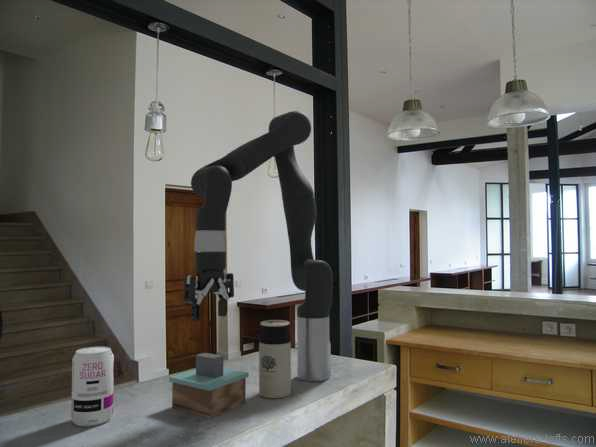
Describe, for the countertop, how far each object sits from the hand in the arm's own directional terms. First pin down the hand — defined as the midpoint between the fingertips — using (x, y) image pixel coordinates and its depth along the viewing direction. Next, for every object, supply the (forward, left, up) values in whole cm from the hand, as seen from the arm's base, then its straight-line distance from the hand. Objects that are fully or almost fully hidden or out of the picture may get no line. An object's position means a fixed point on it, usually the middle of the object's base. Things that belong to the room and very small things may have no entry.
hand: (209, 318), depth 111 cm
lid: (0, 0, -15) cm, 15 cm away
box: (0, 0, -20) cm, 20 cm away
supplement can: (+21, -14, -20) cm, 32 cm away
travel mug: (-15, +8, -20) cm, 27 cm away
